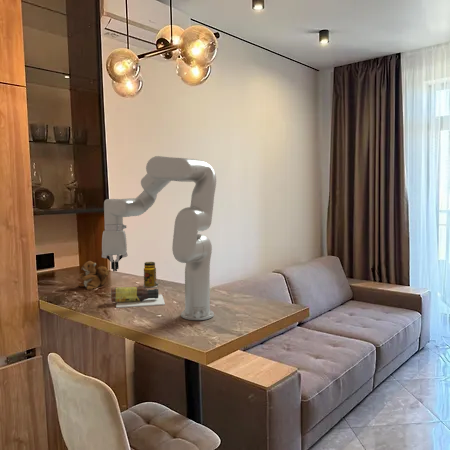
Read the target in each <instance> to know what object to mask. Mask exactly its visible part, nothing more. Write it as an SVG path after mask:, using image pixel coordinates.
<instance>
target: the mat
mask: <svg viewBox="0 0 450 450" xmlns="http://www.w3.org/2000/svg"><path fill="white" fill-rule="evenodd" d="M115 303H116V304H115V308H116V309H118V308H119V309H120V308H122V309H123V308H137V307H151V306H153V307H154V306H155V307H156V306H165V305H166V303H165V300H164V297H163V293H162V294H161V293H160V294H159V296H158V298H156V299H155V298H148V299H145V300H142V301H138V302H115Z"/></svg>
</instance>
